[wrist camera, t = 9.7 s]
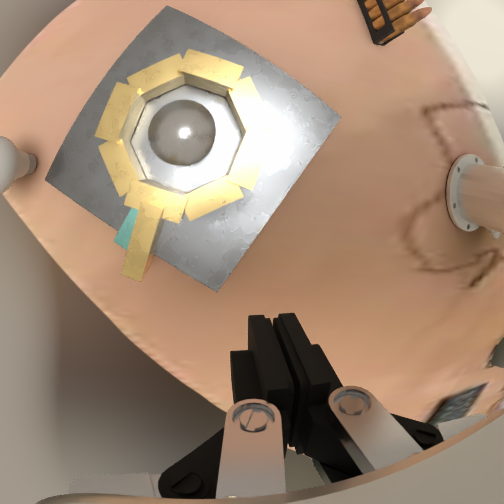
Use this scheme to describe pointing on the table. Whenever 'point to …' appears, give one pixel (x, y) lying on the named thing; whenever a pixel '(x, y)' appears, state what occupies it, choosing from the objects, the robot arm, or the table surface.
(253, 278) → the table surface
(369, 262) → the table surface
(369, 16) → the ammunition clip
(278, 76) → the housing
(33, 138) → the table surface
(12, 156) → the lightbulb
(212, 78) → the ring nut
